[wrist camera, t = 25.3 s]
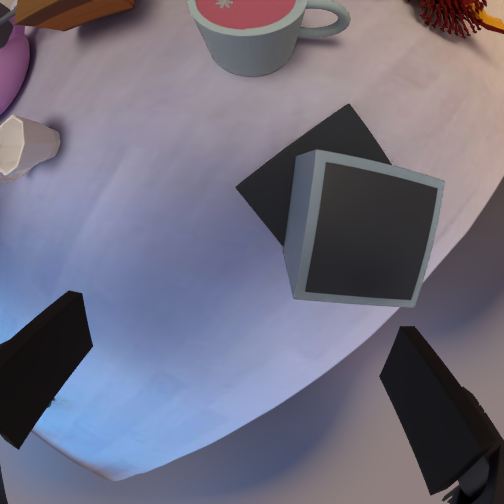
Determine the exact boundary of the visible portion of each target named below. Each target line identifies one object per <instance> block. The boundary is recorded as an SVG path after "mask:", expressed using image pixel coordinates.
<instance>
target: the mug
mask: <svg viewBox="0 0 504 504" xmlns="http://www.w3.org/2000/svg"><path fill="white" fill-rule="evenodd" d="M187 3H188V8H189V11H190V13H191V15H192V17H193V19H194V21H195V23H196V24H197V26H198V28H199V30H200V32H201V34H202V36H203V38H204V40H205V42H206V44H207V46H208V48H209V50H210V52H211V54H212V57H213V58H214V60H215V61H216V62H217V64H218V65H219V66H221V67H222V68H223V69H225V70H226V71H228V72H230V73H233V74H236V75H240V76H246V77H257V76H263V75H267V74H270V73H273V72H275V71H277V70H278V69H280V68H281V67H283V66H284V65H285V64H286V63H287V62H288V61H289V59H290V58H291V56H292V54H293V51H294V48H295V44H296V41H297V37H305V38H320V37H327V36H332V35H335V34H338V33H340V32H341V31H343V30H345V29H346V28H347V27H348V25H349V23H350V15H349V12H348V11H347V10H346V8H345V7H344V6H342V5H341V4H339V3H337V2H335V1H333V0H187ZM309 8H312V9H323V10H328V11H330V12H333V13H334V14H336V15H337V16H338V20H337V21H336V22H335V23H333V24H331V25H329V26H325V27H319V28H304V27H300V26H301V23H302V19H303V15H304V12H305V9H309Z"/></svg>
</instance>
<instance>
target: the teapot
mask: <svg viewBox="0 0 504 504" xmlns="http://www.w3.org/2000/svg"><path fill="white" fill-rule="evenodd" d="M9 21H10V22H11V24H12V25H13V30H12V32H11V35H10V37H9V40H8V42H7V43H6V45H5V46H4V47H3V48H1V49H0V114H2V113H3V112H4V111H5V110H6V109H7V107H8V106H9V105H10V104H11V103H12V101H13V100H14V98H15V97H16V95H17V93H18V91H19V90H20V88H21V86H22V83H23V81H24V79H25V76H26V73H27V70H28V66H29V61H30V49H29V43H28V39H27V38H26V36H25V35H24V32H25V26H24V25H14V23H15V16H13V17H12V18H10V19H9Z"/></svg>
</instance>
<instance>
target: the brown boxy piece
mask: <svg viewBox="0 0 504 504" xmlns="http://www.w3.org/2000/svg"><path fill="white" fill-rule="evenodd" d="M134 2H135V0H18V2H17V6H15V7H14V9H13V10H12V11H10V9H8V8H7V7H5V6H4V5H3V4H1V3H0V49H1V48H3V47H4V46H5V45H6V43H7V42H8V40H9V37H10V35H11V32H12V30H13V25H12V24H11V22H10V21H9V19H10V18H12V17H13V16H15V23H14V25H24V26H33V27H34V26H35V27H41V28H48V29H55V30H61V31H67V30H69V29H72V28H74V27H77V26H79V25H82V24H85V23H88V22H90V21H93V20H96V19H99V18H103V17H106V16H109V15H112V14H116V13H120V12H123V11H127V10H131V9H134Z"/></svg>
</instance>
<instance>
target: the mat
mask: <svg viewBox="0 0 504 504" xmlns="http://www.w3.org/2000/svg"><path fill="white" fill-rule="evenodd" d="M317 149H318V150H324V151H329V152H334V153H340V154H345V155H350V156H354V157H359V158H364V159H368V160H372V161H376V162H381V163H385V164H389V165H392V164H391V163H390V161H389V160H388V158H387V156H386V155H385V153H384V152H383V150H382V149H381V147H380V146H379V144H378V143H377V141H376V140H375V138H374V137H373V135H372V134H371V132H370V131H369V130H368V128H367V127H366V125H365V124H364V123H363V121H362V120H361V118H360V117H359V116H358V114H357V113H356V112H355V110H354V109H353V108H352V107H351V105H350V104H347V105H346V106H344V107H343V108H341V109H340V110H338V111H337V112H335V113H334V114H332V115H331V116H330V117H328V118H327V119H325V120H324V121H322V122H321V123H320V124H318V125H317V126H315V127H314V128H312V129H311V130H310V131H308V132H307V133H306V134H304V135H303V136H301V137H300V138H299V139H297V140H296V141H295V142H293V143H292V144H291V145H289V146H288V147H286V148H285V149H284V150H282V151H281V152H280V153H278V154H277V155H276V156H275V157H273V158H272V159H271V160H269V161H268V162H267V163H265V164H264V165H263V166H262V167H260V168H259V169H258V170H256V171H255V172H254V173H253V174H251V175H250V176H249V177H248V178H246V179H245V180H244V181H242V182H241V183H240V184H239V185H238V186H236V189H237V190H238V191H239V193H240V194H241V195H242V196H243V197H244V199H245V200H246V201H247V202H248V204H249V205H250V206H251V207H252V208H253V210H254V211H255V212H256V213H257V215H258V216H259V217H260V218H261V220H262V221H263V222H264V223H265V225H266V226H267V227H268V228H269V230H270V231H271V232H272V233H273V235H274V236H275V237H276V238H277V240H278V241H279V242H280V243H281V245H282V246H283V247H284V240H285V233H286V226H287V219H288V212H289V205H290V197H291V189H292V181H293V174H294V165H295V157H296V156H298V155H301V154H304V153H307V152H310V151H313V150H317Z"/></svg>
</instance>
